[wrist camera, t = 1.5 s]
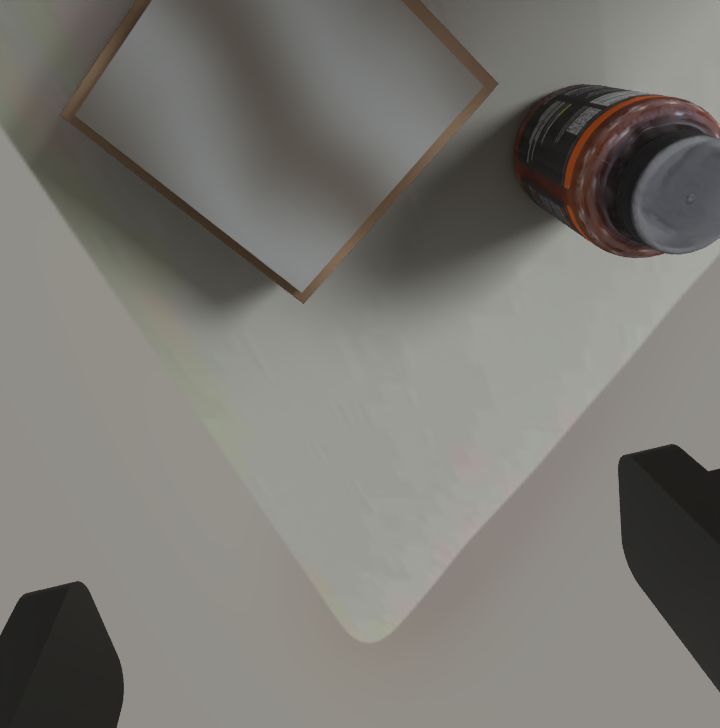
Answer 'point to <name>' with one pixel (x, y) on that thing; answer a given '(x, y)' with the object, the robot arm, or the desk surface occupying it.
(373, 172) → the wooden rimmed tray
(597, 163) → the supplement bottle
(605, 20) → the desk surface
